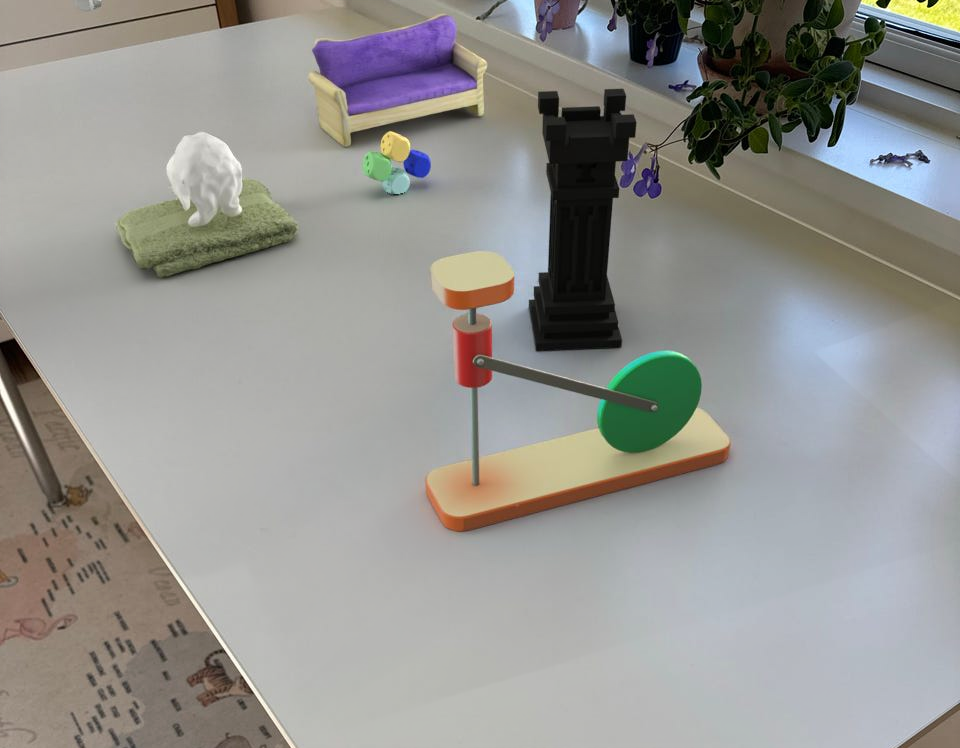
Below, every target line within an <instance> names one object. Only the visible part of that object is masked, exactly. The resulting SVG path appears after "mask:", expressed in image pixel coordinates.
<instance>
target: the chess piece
mask: <svg viewBox="0 0 960 748" xmlns="http://www.w3.org/2000/svg"><path fill="white" fill-rule="evenodd" d="M603 92H604V93H603V115H601V111H602V110H601V107H600V106H597V105H596V106H595V105H594V106H571V107H569V106H568V107H567V106H566V107H561V116H559V111H560V96H559V93H558V90H549V91H548V90H547V91H546V90H544V91H537V108H538V114H539V115H542V127H541V128H542V131H541V133H542V139H543V142H544V146H545V151H546V155H547V159H548V162H546V169H545V172H546V173H545V174H546V177H547V182H548V187H549V191H550V195H549V196H550V201H549V229H548V230H549V231H548V259H547V260H548V261H547V271H545V272H544V271H543V272H542V271H541V272H538V279H537V281H538V285H534V286H533V293H532V294H533V299H532V298H531V299H528V311H529V317H530V323H531V324H530V325H531V329H532V337H533V344H534V349H535V352H547V351H549V352H550V351H571V350H572V351H573V350H596V349H619V348H621V349H622V345H623V344H622V343H623V338H622V335H621V331H620V327H619V322H620V321H619V319H618V314H617V311H616V303H615V299H614V296H613V292H612V288H611V285H610V281H609V278H608V277H609V276H608V267H609V256H610V255H609V254H610V253H609V252H610V244H611V243H610V241H611V230H612V216H613V206H614V205H613V204H614V199H619V197H620V185H619V183H618V180H617V177H616V165H617V162H628V159H629V146H630V139H635V138H636V134H637V133H636V132H637V123H638V122H637V119H636V117H635V114H633V113H632V114H631V113H630V114H622V112H625V111H626V103H627V94H626V92H625V88H604V90H603Z"/></svg>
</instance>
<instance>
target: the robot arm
mask: <svg viewBox="0 0 960 748" xmlns="http://www.w3.org/2000/svg"><path fill="white" fill-rule="evenodd" d="M73 3H74V7H76V9H77V10H78V11H81V12H86V13H87V12H92V11H93V10H96V9H98V8H101V7H102V0H73Z"/></svg>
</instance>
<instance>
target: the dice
mask: <svg viewBox="0 0 960 748" xmlns="http://www.w3.org/2000/svg"><path fill="white" fill-rule="evenodd" d="M380 151H381V152H379V151H375V150H369V151H368V152H367V153H366V154H365V155H364V157H363V159H362V166H361V167H362V171H363V174H364V175H365V176H366V177H368V178H369V179H372V180H375V181H378V182H381V185H382V187H383V190H384V191H385V192H386V193H387V192H388V193H387V194H389V193H390V194H389V195H393V194H399V195H401V194H400V193H403V194H405V193H406V192H407V191H408V190H409V188H410V185H411V184H410V182H411V181H410V177H409V176H413V177H415V178H418V179H419V178H420V179H424V178H426V177H427V176H428V175H429V173H430V171H431V167H432V162H431V159H430V156H429V155H428V154H426V153H425V152H422V151H420V150H416V149H411V143H410V141H409V139H408V138H406V137H405V136H403V135H402V134H399V133H397V132H394V131H391V130H389V131H388V132H386V133H385V134H384V135H382V138H381V141H380ZM391 160H392V161H394V162H397V163H402V162H403V168H402V167H400V166H399V167H398V166H393V164H392V161H391ZM404 192H405V193H404Z"/></svg>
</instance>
